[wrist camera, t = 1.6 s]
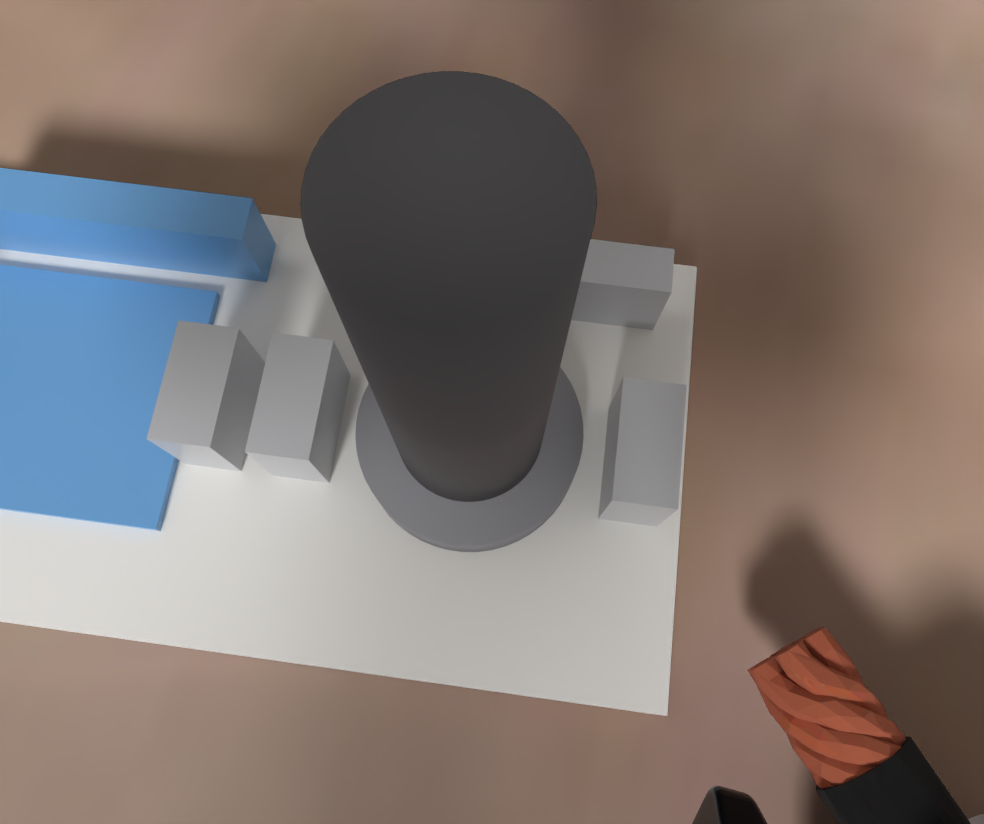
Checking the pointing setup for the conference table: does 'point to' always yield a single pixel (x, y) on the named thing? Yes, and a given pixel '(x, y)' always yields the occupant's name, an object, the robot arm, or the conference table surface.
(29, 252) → the white board with blocks
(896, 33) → the conference table surface
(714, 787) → the robot arm
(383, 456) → the grey cylinder on disc
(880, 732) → the cable
